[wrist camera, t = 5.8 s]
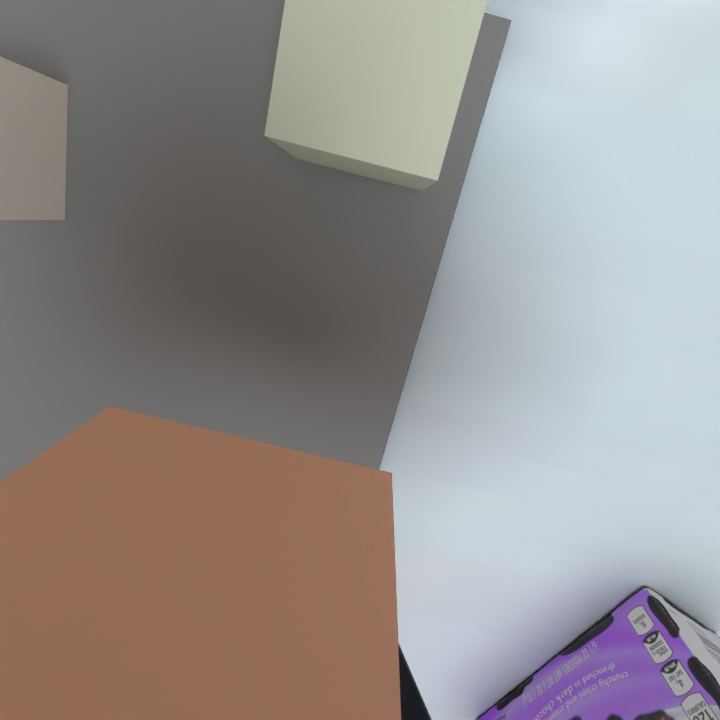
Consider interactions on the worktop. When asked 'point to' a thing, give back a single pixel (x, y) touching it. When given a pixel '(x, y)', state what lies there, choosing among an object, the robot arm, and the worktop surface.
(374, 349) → the slate mat
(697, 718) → the candy box
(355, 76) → the sage block
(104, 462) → the terracotta block
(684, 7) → the worktop surface
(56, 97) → the taupe block
